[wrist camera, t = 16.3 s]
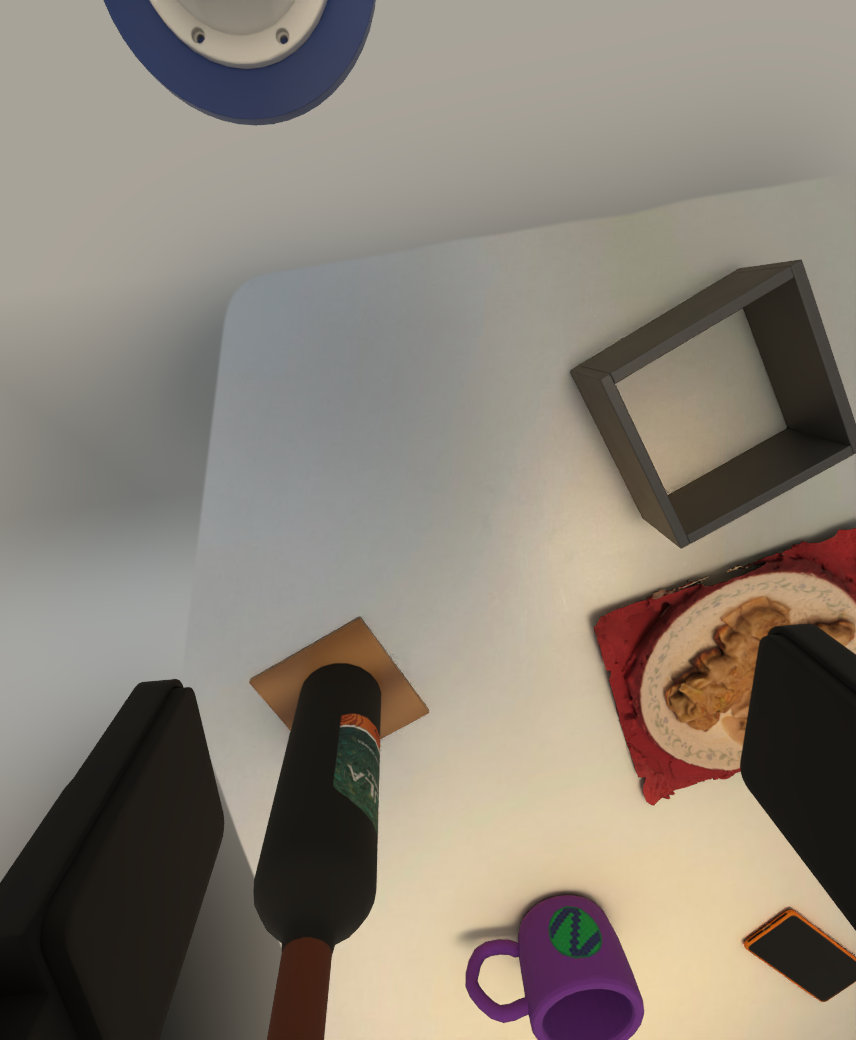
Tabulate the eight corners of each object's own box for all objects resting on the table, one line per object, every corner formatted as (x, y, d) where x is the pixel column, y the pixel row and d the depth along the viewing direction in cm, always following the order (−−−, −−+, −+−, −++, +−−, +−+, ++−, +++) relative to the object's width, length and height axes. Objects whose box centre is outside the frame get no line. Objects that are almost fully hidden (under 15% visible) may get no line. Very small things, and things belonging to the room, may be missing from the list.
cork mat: (250, 679, 53) (248, 682, 52) (360, 616, 51) (359, 618, 51) (324, 766, 56) (324, 769, 56) (428, 709, 55) (429, 713, 55)
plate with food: (585, 610, 53) (597, 630, 49) (865, 517, 51) (897, 531, 47) (641, 794, 61) (654, 822, 58) (883, 720, 59) (911, 744, 56)
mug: (612, 880, 64) (650, 977, 55) (607, 950, 68) (642, 1052, 58) (457, 896, 63) (468, 997, 54) (461, 966, 67) (473, 1072, 58)
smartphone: (789, 905, 67) (794, 912, 66) (867, 964, 71) (872, 971, 71) (739, 942, 69) (743, 950, 68) (818, 997, 73) (822, 1005, 72)
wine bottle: (305, 657, 52) (202, 1064, 23) (388, 668, 53) (385, 1073, 24) (294, 725, 54) (189, 1171, 26) (374, 735, 55) (356, 1175, 27)
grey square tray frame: (569, 370, 45) (599, 379, 39) (739, 267, 44) (802, 258, 37) (642, 518, 50) (681, 549, 43) (799, 431, 48) (864, 448, 42)
